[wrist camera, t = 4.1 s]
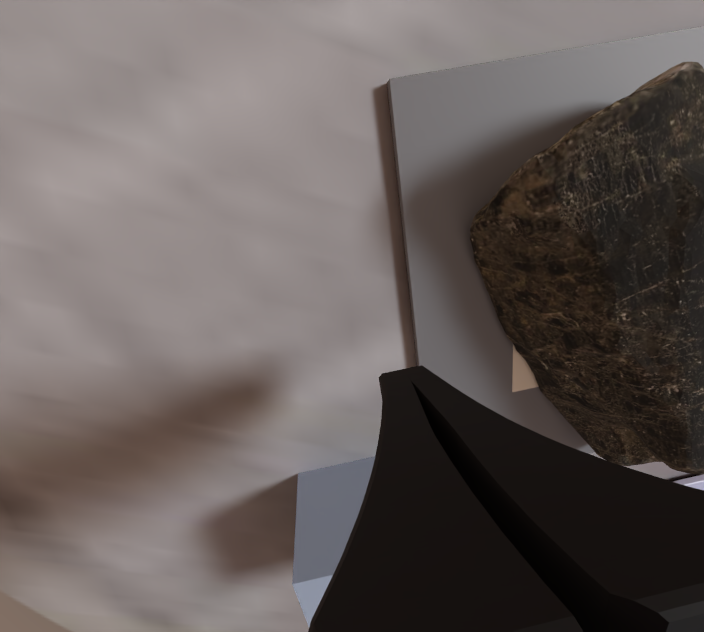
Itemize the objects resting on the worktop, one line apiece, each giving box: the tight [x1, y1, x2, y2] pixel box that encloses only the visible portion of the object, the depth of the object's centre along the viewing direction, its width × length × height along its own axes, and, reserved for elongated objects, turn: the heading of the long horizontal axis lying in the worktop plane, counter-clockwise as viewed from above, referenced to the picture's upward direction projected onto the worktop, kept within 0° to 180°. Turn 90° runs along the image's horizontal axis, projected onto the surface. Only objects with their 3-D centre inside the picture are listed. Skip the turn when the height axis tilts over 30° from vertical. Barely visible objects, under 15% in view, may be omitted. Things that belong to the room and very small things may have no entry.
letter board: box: [387, 26, 704, 453], centre depth 14 cm, size 18×16×1 cm
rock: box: [470, 61, 704, 474], centre depth 12 cm, size 8×16×4 cm, turn 37°
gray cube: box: [292, 457, 375, 627], centre depth 15 cm, size 5×5×5 cm
